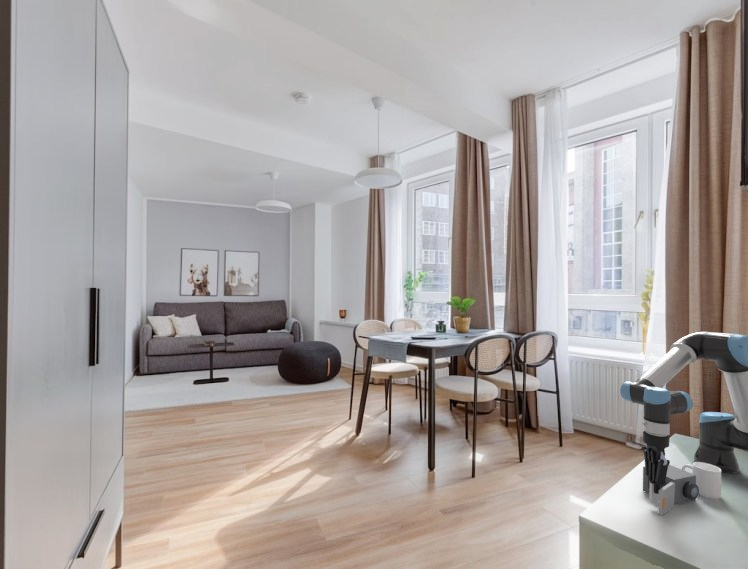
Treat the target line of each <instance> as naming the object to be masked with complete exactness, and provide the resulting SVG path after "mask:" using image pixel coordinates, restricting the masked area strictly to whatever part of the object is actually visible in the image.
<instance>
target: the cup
mask: <svg viewBox="0 0 748 569" xmlns="http://www.w3.org/2000/svg"><path fill="white" fill-rule="evenodd" d="M687 468H688V469H691V470H692V473H691V474H694V475H696V485H697V486H698V488H699V494H698V496H701V497H703V498H706V497H707V499H710V498H711V500H719V499H721V496H722V472H721V469H720V468H718V467H716V466H714V465H711V464H707V463H702V462H693V463H692V465H691V464H688V463H686V464H683V465H682V467H681V468H680V469H681V470H684V471H686V469H687Z"/></svg>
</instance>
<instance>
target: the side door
mask: <svg viewBox="0 0 748 569" xmlns="http://www.w3.org/2000/svg"><path fill="white" fill-rule="evenodd" d="M657 506H658V509H657V513H658V515H659V516H663V515H665V513H667V512H669V511H670V510H671V509H672V508H674V507H675V506H676V505H675V482H670V483H669V484H667V485H666V486H664V487H663V488H661V489H660V490H659V502H658V505H657Z"/></svg>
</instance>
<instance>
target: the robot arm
mask: <svg viewBox="0 0 748 569" xmlns="http://www.w3.org/2000/svg"><path fill="white" fill-rule="evenodd" d="M698 360H705V361H710V362H715V365H716V368H717V370H719V371H720V372H723V373H722V374H723V377H724V379H725V383H726V386H727V390H728V393H729V397H730V400H731V404H732V407H733V411H734V415H733V414H731V413H728V412H717V411H704V412H702V413H700V415H699V421H698V423H699V425H698V427H699V431H698V432H699V433H698V435H699V436H698V437H699V439H698V440H699V441H698V442H699V443H698V446H697V449H696V450H695V452H694V456H693V461H694V462H702V463H707V464H711V465H714V466H716V467H718V468H720V469H721V473H726V474H737V473H739V472H740V465H739V462H738V460H737V456H736V455H735V449H737V450H740V451H744V452H747V453H748V335H745V334H740V333H723V332H715V331H713V332H712V331H707V330H706V331H705V330H704V331H698V332H693V333H689V334H688V335H685V336H683V337H681V338H679V339H678V340H676V341H675V342H674V343H672V344H671V345H670V348H669V351H668V352H667V353H666V354H665V355H663V356H662V357H661V358H660V359H659V360H658V361H656V362H655V364H653V365H652V366H651V367H650V368H649V369H648V370H647V371H646V372H644V373H643V374H642V375H641V376H639V378H637V379H636V380H635V381H634V382H633V381H624V382H623V383H622V384H621V385H620V389H619V392H620V393H619V394H620V396H621V397H622V399H623V400H625V401H628V402H631V403H633V404H637V405H641V406H643V417H642V418H643V421H642V423H641V424H642V426H643V427H642V429H643V431H642V441H643V443H645V444H646V445H645V446H644V445H642V451H643V456H644V466H645V470H646V476H648V478H649V480H650V489H649V493H648V495H649V497H648V500H649V501H650V502H652V503H659V490H660V485H665V480H666V475H667V469H668V466H669V465H671V464H670V463H671V461H670V459H667V458H666V451H665V449H666V448H669V447H670V436H669V435H670V432H671V431H670V428H671V424H670V423H671V420H670V419H671V415H677V414H684V413H687V412H690V411H691V410H693V406H694V402H693V398H692V397H691V396H690V394H688V393H687V392H685V391H682V390H669V389H667V388H664V387H665V386H666V385H667V384H668V383H669V382H670V381H671V380H673V378H675V376H676V375H677V374H679V373H680V372H681V370H683V369H684V368H685V367H686V366H687V365H689V364H693V363H695V362H696V361H698ZM694 462H693V463H694Z"/></svg>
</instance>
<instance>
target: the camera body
mask: <svg viewBox="0 0 748 569" xmlns="http://www.w3.org/2000/svg"><path fill="white" fill-rule="evenodd" d="M681 469H682V468H679V467H676V466H674V465H671V464H669V466H668V469H667V475H666V480H665V485H660V489H661V488H663V487H664V486H666V485H667V484H669V483H670V482H675V506H677V505H682V504H686V503H689V502H694V501H696V500H697V499H698V497H699V495H698V494H699V488H698V486H697V485H696V475H694V474H692V473H691V472H689V471H687V470H685V471H684V470H681ZM649 489H650V480H649V478H648V476H646V470H645V465H644V466H643V467H642V491H643V492H644V491H645V493H647V494H649Z"/></svg>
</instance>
